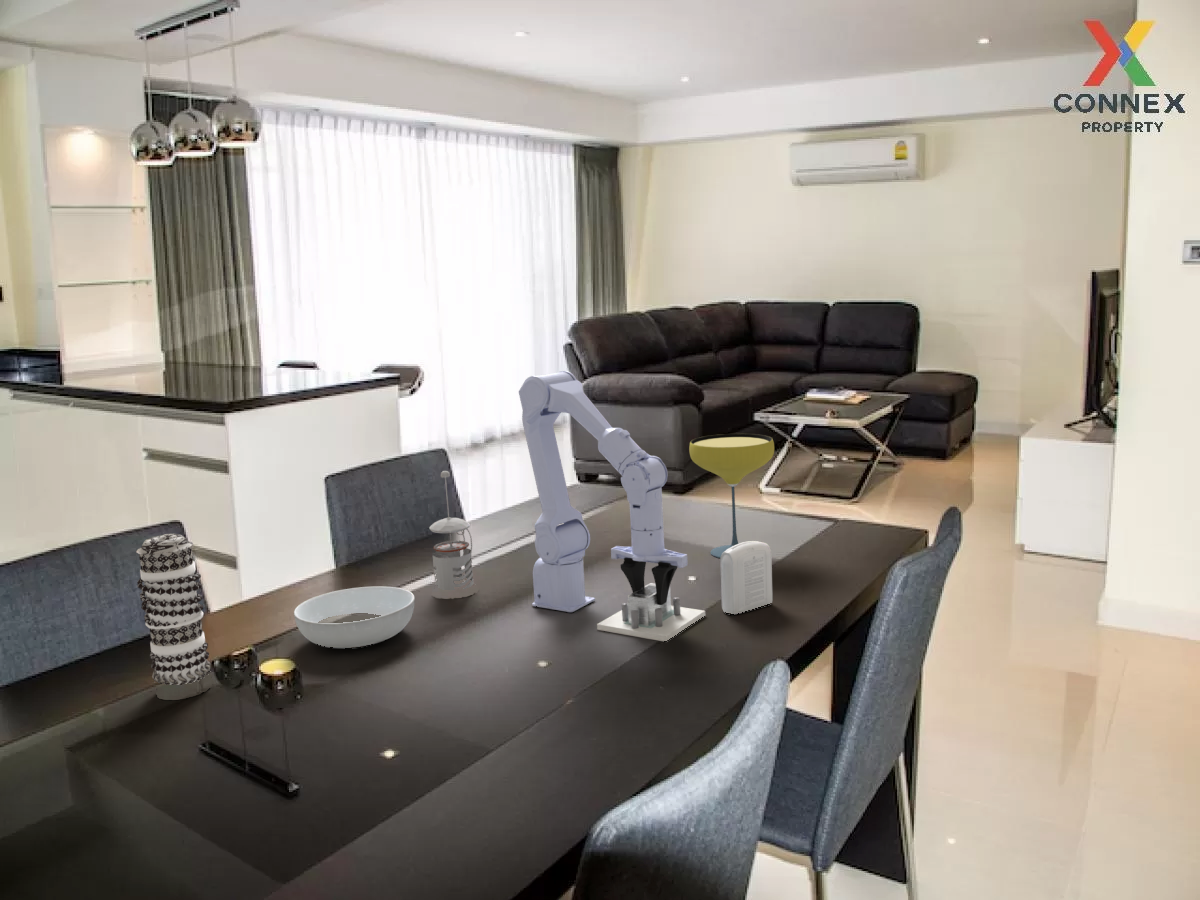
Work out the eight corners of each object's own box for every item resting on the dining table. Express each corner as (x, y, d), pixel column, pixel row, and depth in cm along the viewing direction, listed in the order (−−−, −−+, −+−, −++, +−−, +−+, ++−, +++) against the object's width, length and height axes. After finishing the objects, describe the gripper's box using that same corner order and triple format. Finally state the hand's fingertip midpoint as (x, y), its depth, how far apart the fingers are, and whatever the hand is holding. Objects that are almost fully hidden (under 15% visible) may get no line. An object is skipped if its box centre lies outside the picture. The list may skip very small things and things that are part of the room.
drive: (628, 623, 171) (627, 595, 171) (652, 609, 178) (650, 582, 177) (648, 626, 169) (647, 598, 168) (671, 612, 176) (670, 585, 175)
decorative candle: (154, 707, 150) (132, 549, 146) (151, 686, 158) (129, 536, 154) (218, 693, 154) (198, 538, 150) (211, 673, 162) (192, 527, 158)
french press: (421, 597, 196) (410, 475, 192) (451, 580, 207) (441, 463, 203) (464, 601, 192) (453, 476, 188) (492, 583, 203) (482, 464, 199)
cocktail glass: (789, 546, 218) (786, 434, 213) (756, 568, 203) (753, 449, 198) (715, 538, 227) (711, 432, 223) (679, 559, 212) (674, 445, 208)
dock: (597, 629, 172) (596, 607, 172) (638, 605, 184) (637, 585, 183) (666, 641, 165) (665, 619, 164) (705, 616, 176) (704, 594, 175)
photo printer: (760, 599, 183) (758, 535, 181) (776, 604, 180) (774, 539, 178) (718, 611, 178) (715, 545, 176) (733, 617, 174) (731, 550, 172)
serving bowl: (440, 625, 179) (437, 589, 178) (368, 668, 161) (364, 628, 160) (350, 615, 188) (346, 580, 187) (271, 654, 170) (267, 616, 168)
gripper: (599, 528, 172) (604, 602, 174) (672, 536, 164) (675, 614, 166) (621, 519, 178) (625, 591, 180) (692, 526, 170) (695, 601, 172)
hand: (650, 601), depth 173 cm, fingers closed on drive, 4 cm apart
